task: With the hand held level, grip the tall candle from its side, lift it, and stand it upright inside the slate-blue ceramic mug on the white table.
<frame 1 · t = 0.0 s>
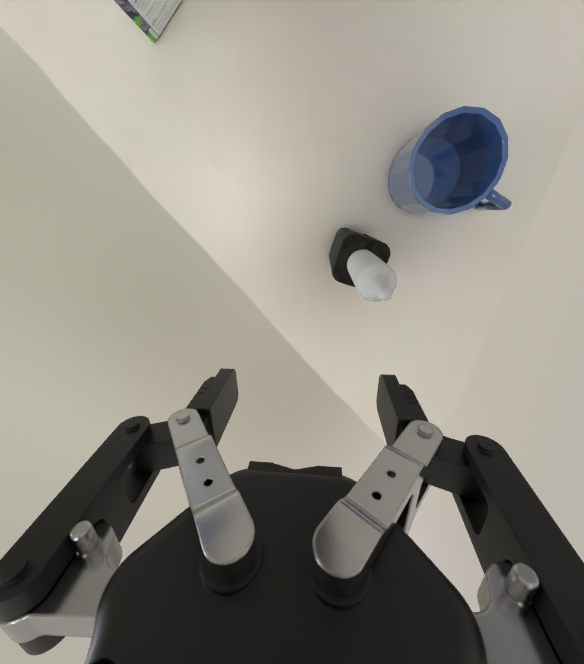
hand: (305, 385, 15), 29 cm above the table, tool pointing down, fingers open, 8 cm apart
mug: (423, 176, 35), on the table
candle: (349, 248, 40), on the table
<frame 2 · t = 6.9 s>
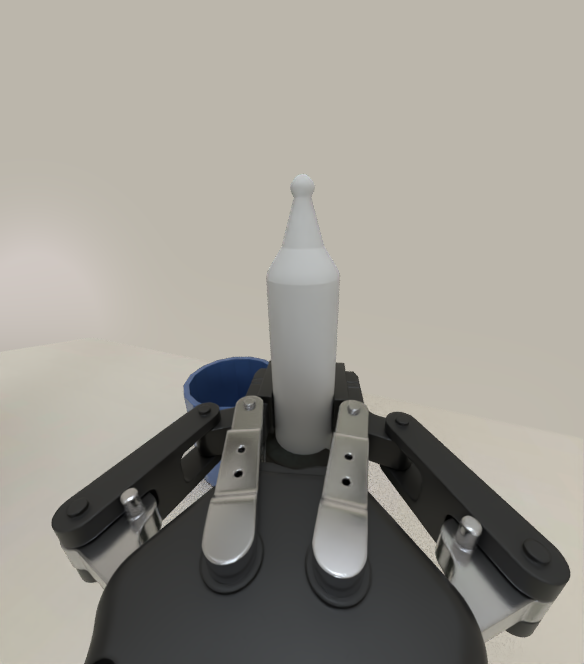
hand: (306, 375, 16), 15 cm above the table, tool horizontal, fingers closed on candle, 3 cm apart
mug: (243, 453, 30), on the table
candle: (304, 579, 19), on the table, touching gripper
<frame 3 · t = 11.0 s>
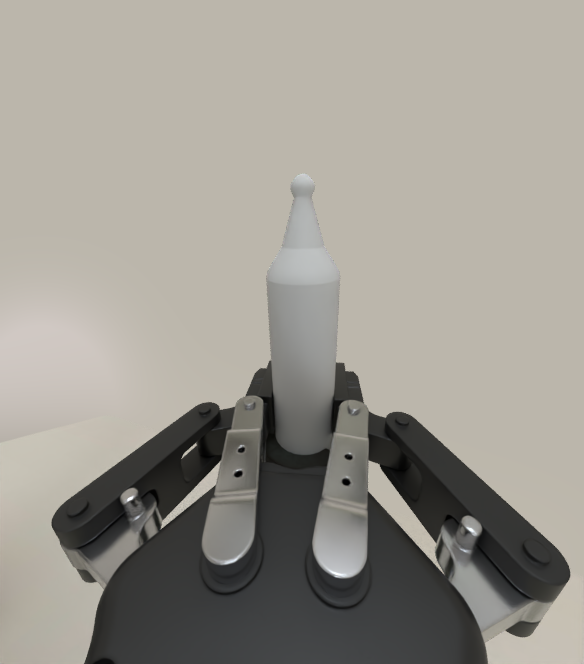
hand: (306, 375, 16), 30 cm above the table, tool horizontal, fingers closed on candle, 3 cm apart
candle: (304, 579, 19), point 14 cm above the table, touching gripper
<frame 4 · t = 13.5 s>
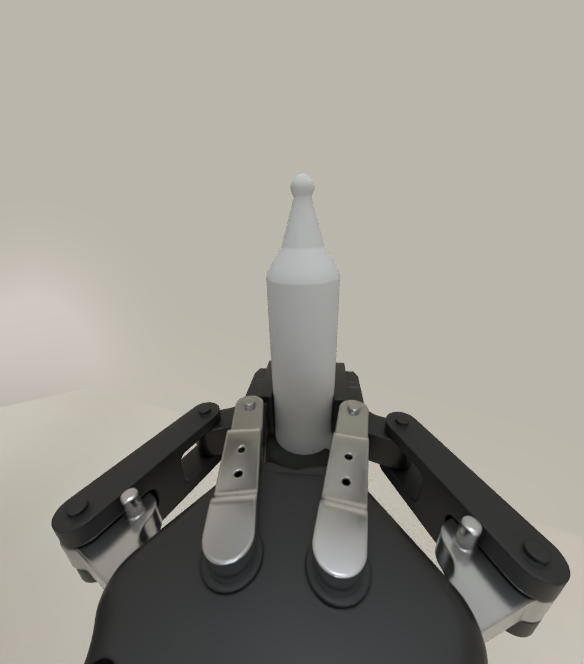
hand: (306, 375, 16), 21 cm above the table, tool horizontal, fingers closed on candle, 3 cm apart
candle: (304, 579, 19), point 6 cm above the table, touching gripper
when the fingers open (16 cm above the table, at t = 15.3 s): candle stays where it is, resting on mug.
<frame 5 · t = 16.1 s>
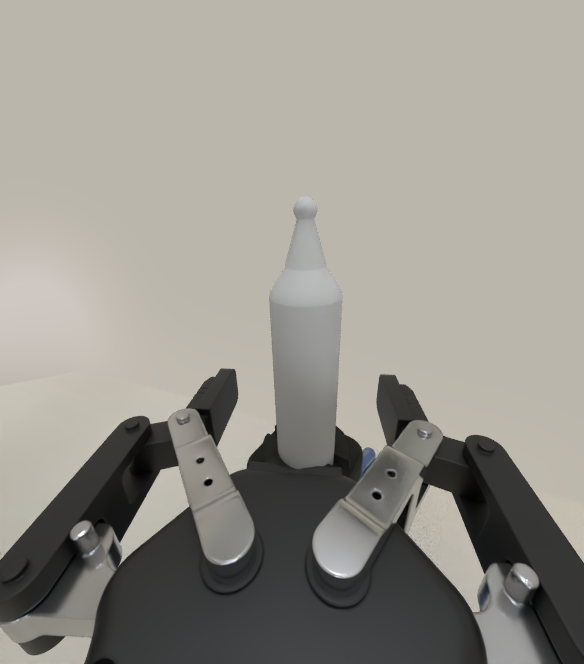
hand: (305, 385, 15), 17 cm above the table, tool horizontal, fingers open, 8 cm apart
candle: (306, 589, 19), point 1 cm above the table, touching mug
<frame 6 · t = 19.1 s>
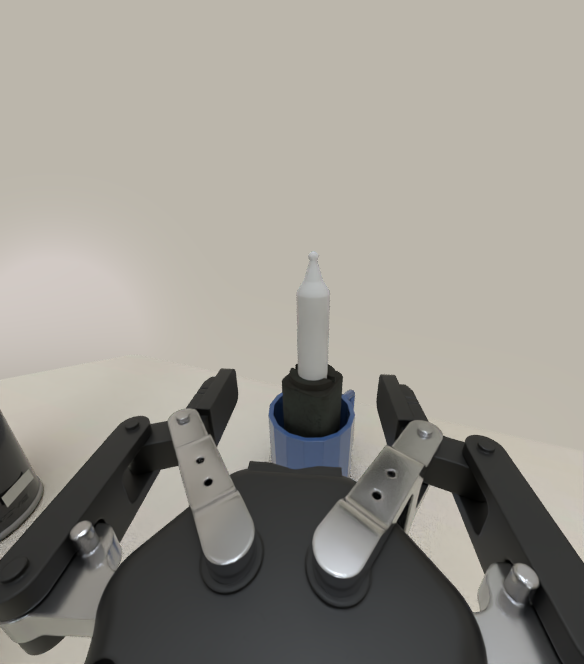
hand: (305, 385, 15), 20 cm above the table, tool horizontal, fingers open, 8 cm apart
mug: (310, 472, 33), on the table
candle: (312, 470, 32), point 1 cm above the table, touching mug
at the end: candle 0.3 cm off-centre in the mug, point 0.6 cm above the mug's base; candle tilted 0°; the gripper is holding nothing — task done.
